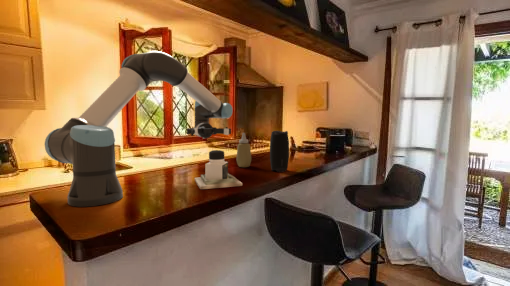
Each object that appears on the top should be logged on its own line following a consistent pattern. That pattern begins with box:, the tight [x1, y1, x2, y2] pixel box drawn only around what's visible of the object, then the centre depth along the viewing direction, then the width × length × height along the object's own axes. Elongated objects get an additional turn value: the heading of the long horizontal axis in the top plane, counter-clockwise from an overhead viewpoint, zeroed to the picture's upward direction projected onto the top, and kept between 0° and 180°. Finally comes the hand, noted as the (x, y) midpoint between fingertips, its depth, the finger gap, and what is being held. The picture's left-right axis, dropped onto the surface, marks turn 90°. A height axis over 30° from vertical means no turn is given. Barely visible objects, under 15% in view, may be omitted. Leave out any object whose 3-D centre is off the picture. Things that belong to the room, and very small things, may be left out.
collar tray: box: [194, 172, 243, 190], centre depth 111 cm, size 16×16×2 cm
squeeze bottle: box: [236, 132, 252, 168], centre depth 147 cm, size 8×8×18 cm
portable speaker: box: [269, 130, 290, 173], centre depth 135 cm, size 9×9×20 cm
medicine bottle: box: [204, 149, 229, 180], centre depth 110 cm, size 7×7×12 cm
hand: (212, 131), depth 119 cm, fingers open, 13 cm apart
